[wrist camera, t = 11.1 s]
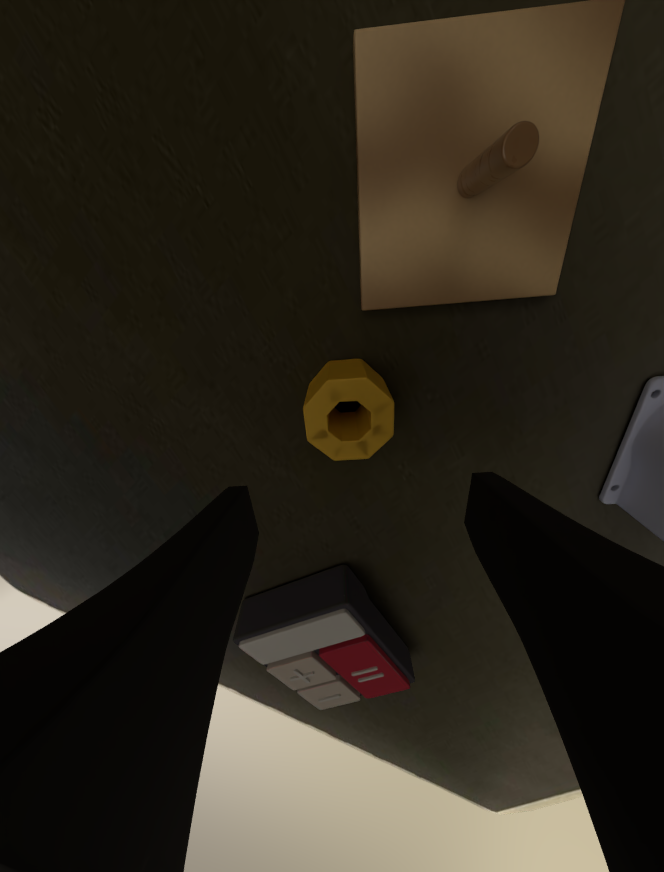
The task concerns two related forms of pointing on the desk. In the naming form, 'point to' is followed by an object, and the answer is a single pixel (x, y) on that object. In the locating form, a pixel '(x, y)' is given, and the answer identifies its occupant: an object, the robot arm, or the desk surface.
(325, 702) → the calculator
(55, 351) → the desk surface
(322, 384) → the sleeve
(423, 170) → the stand
